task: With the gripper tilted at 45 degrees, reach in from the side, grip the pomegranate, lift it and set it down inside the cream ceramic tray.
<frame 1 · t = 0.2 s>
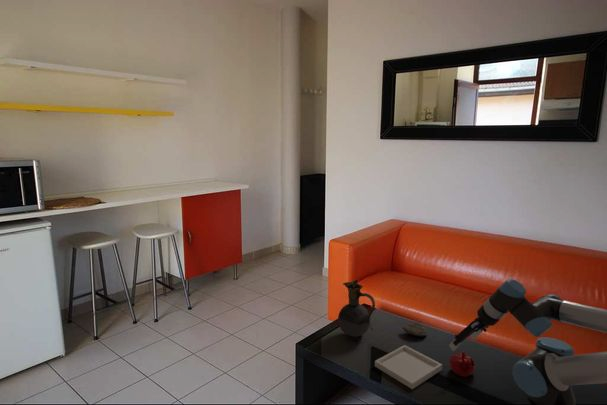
hand: (461, 342, 157), 15 cm above the table, fingers open, 13 cm apart
tray: (408, 368, 167), on the table
pomegranate: (461, 372, 163), on the table
pitcher: (357, 338, 193), on the table
fossilized seashell: (414, 334, 194), on the table
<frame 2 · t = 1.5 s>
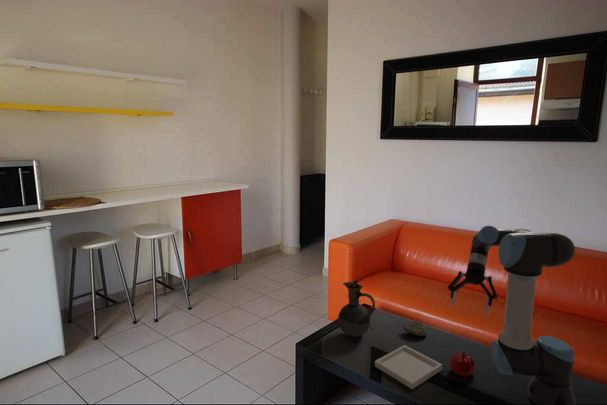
hand: (468, 309, 167), 24 cm above the table, fingers open, 13 cm apart
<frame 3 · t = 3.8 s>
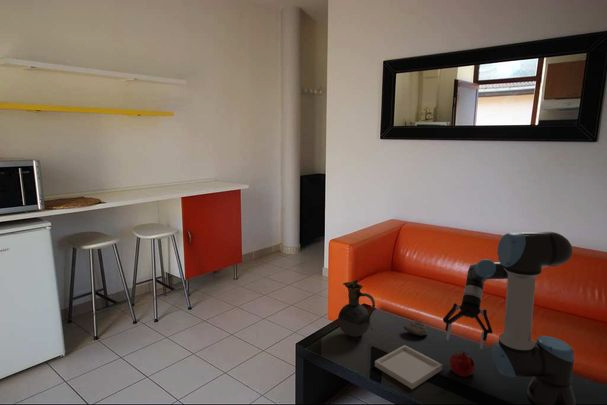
hand: (463, 343, 166), 10 cm above the table, fingers open, 13 cm apart
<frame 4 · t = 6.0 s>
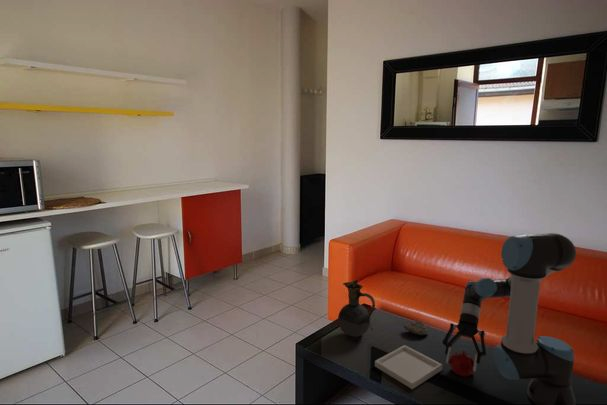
hand: (460, 367, 160), 4 cm above the table, fingers closed on pomegranate, 10 cm apart
pomegranate: (461, 372, 163), on the table, touching gripper
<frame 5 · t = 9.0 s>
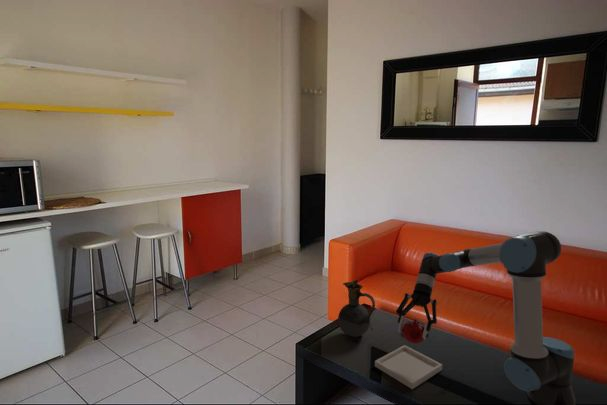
hand: (411, 334, 162), 16 cm above the table, fingers closed on pomegranate, 10 cm apart
pomegranate: (413, 340, 166), point 12 cm above the table, touching gripper
when the fingers open (6 cm above the table, at t = 12.1 s): pomegranate drops 1 cm, resting on tray.
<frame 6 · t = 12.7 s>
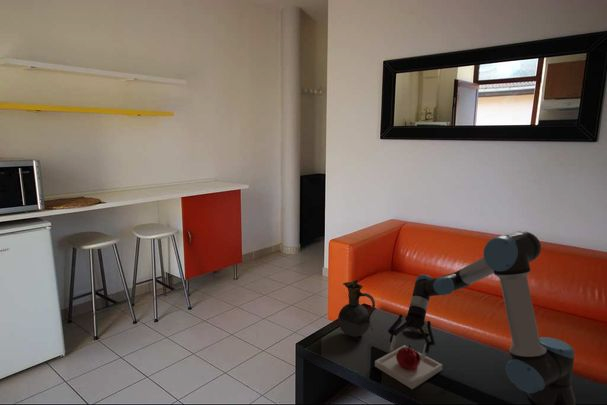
hand: (406, 355, 164), 7 cm above the table, fingers open, 13 cm apart
pomegranate: (408, 366, 167), point 1 cm above the table, touching tray
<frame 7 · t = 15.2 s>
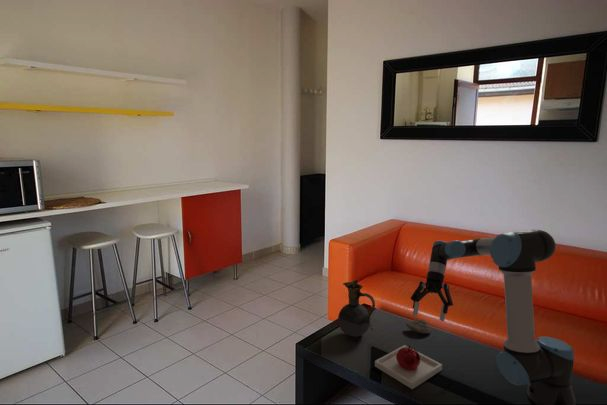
hand: (427, 318, 174), 17 cm above the table, fingers open, 13 cm apart
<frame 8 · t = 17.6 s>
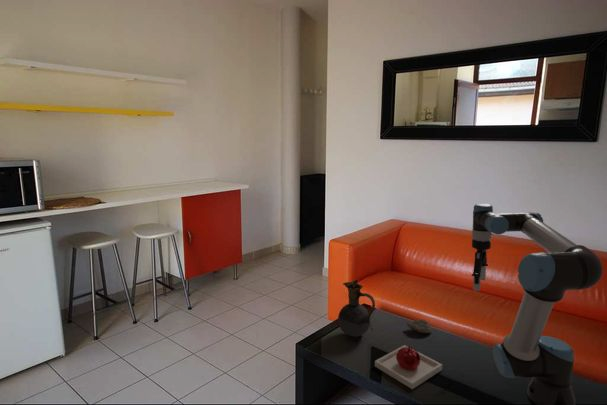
hand: (479, 285, 173), 32 cm above the table, fingers open, 13 cm apart
at the end: pomegranate inside the target area on the tray (0.1 cm from its centre), point 0.8 cm above the tray's base; the gripper is holding nothing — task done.
